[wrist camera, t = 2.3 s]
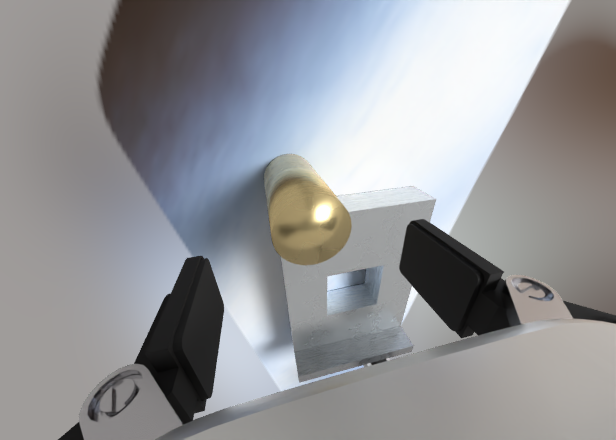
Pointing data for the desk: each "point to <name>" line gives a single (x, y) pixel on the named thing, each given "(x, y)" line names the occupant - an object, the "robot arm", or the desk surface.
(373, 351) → the jig
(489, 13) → the desk surface
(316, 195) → the gold domed cylinder
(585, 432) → the robot arm
